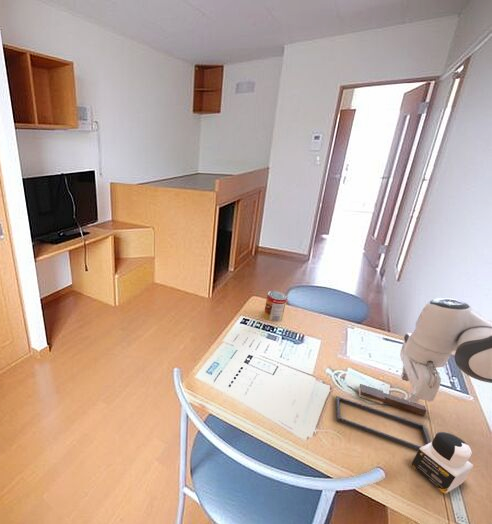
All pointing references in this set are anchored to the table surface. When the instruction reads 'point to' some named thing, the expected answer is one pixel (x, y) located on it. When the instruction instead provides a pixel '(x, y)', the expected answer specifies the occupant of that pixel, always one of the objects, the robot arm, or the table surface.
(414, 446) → the empty picture frame
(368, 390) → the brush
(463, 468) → the medicine bottle
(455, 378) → the table surface
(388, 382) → the table surface
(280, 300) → the canned food
